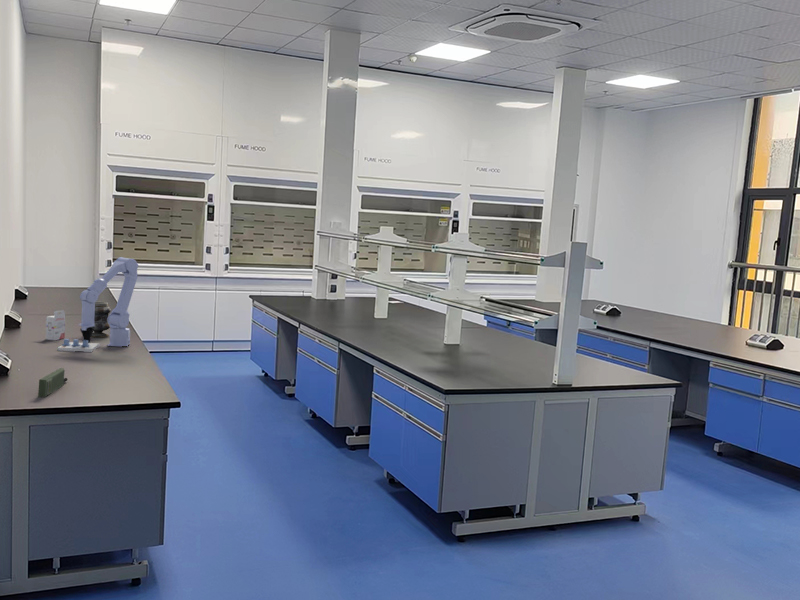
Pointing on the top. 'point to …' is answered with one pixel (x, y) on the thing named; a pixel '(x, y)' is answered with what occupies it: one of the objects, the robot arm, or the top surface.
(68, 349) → the switch board
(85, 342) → the switch tab
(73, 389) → the top surface
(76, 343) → the switch tab
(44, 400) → the top surface
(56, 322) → the ink cartridge box
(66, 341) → the switch tab
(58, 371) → the handheld radio
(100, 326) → the dark grey stone urn
